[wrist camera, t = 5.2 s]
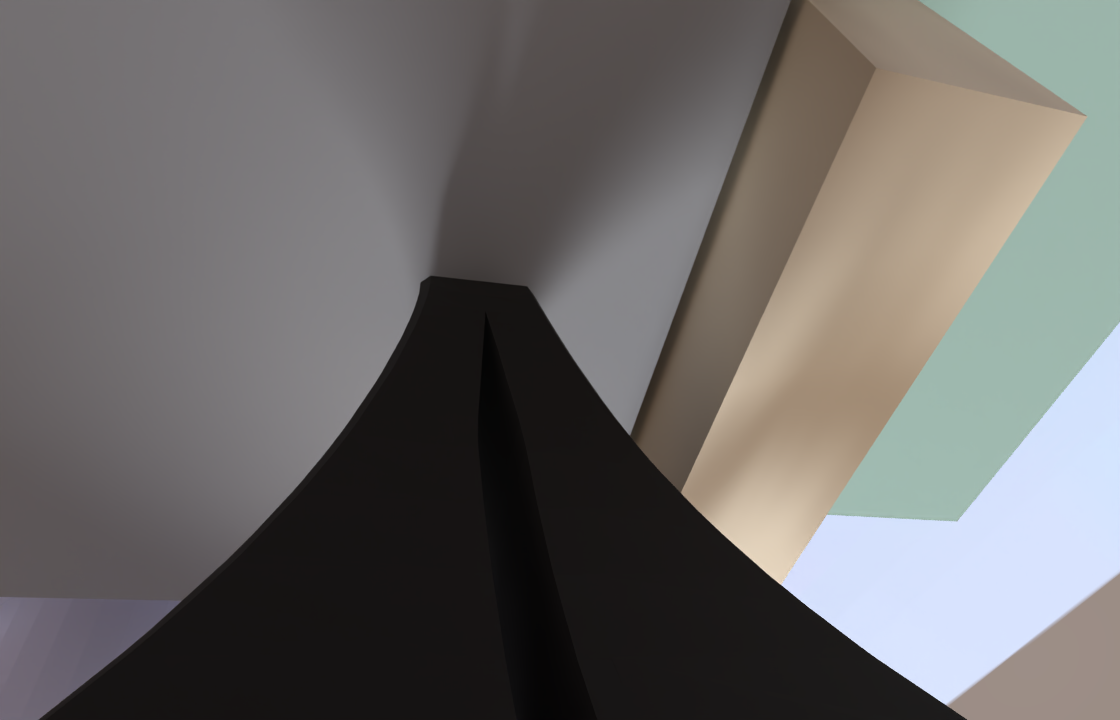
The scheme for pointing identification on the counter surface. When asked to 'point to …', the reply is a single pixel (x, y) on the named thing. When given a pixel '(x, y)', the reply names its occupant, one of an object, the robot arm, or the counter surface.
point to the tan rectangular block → (839, 259)
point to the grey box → (316, 235)
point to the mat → (1015, 280)
